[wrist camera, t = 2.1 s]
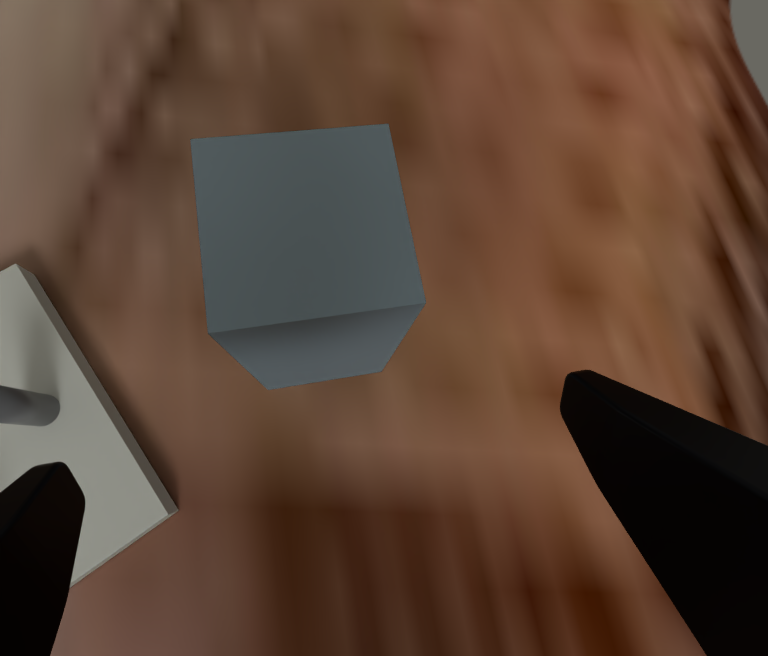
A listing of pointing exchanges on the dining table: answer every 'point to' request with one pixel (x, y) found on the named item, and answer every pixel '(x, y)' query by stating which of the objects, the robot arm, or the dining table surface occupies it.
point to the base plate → (70, 425)
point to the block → (305, 251)
